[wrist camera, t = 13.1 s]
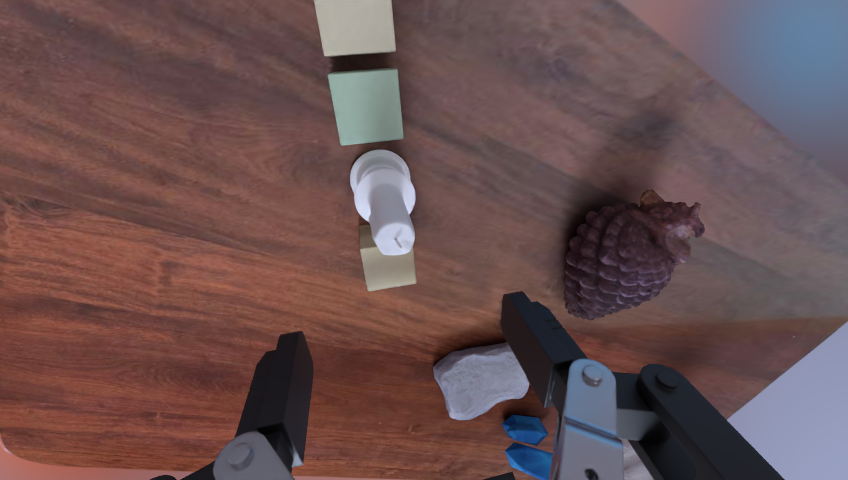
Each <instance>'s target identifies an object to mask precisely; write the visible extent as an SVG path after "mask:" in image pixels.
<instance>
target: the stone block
mask: <svg viewBox="0 0 848 480" xmlns="http://www.w3.org/2000/svg"><path fill="white" fill-rule="evenodd" d="M433 370H434V378H435V379H436V381H437V382H438V384H439V386H440V388H441V389H442V392H443V394H444V397H445V402H446V408H447V410H448V413H449V415H450V417H451V418H454V419H457V420H470V419H472V418H474V417H476V416H478V415H480V414H483V413H484V412H487V411H488V410H489V409H490V408H491V407H492V406H494V405H495V404H496V403H498V402H500V401H505V400H507V399H520V398H522V397H523V396H524V395H525V394H526V392H527V390H528V387H529V382H528V380H527V377H526V375H525V373H524V371H523V369H522V368H521V366H520V364H519V362H518V360H517V359H516V357H515V355H514V353H513V351H512V350H511V348H510V346H509V344H508V342H506V343H501V344H495V345H490V346H486V347H474V348H469V349H465V350H462V351H453V352H451V353H449V354H448V355H447V356H446V357H444V358H443V359H441V360H440V361H439V362H438V363H437V364H435V366H434V367H433Z"/></svg>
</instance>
